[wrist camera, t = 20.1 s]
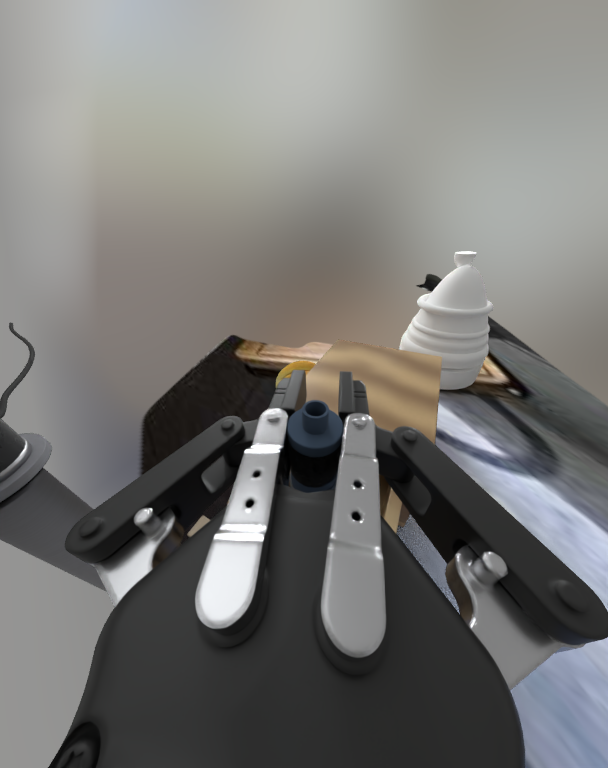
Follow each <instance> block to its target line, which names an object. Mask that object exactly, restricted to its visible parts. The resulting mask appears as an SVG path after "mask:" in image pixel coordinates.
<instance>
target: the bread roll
mask: <svg viewBox="0 0 608 768" xmlns="http://www.w3.org/2000/svg"><path fill="white" fill-rule="evenodd" d="M315 365H316V364H315V363H312V362H308V361H297V362H293V363H291V364H289V365H288V366H286V367H285V368H284V369H283V370H282V371H281V372H280V373H279V375H278V377H277V380H276V388H277V385H278V383H279V382H280V381H281V380H282V379H283V378H290V376H291V373H292V371H293V370H305V372H306V375H307V374H308V373H309V371H310V370H311V369H312V368H313V367H314V366H315Z"/></svg>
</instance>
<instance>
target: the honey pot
mask: <svg viewBox="0 0 608 768" xmlns="http://www.w3.org/2000/svg"><path fill="white" fill-rule="evenodd" d="M475 256H476V252H456V253H455V257H454V260H455V264H456V266H457V267H459V268H457V269H455V270H453V271H452V272H451V273H449V274H448V275H447V276H446V277H445V278H444V279H443V280H442V281H441V282H440V283H439V284H438V286H437V287H436V288H435V289H434V290H433V292H432V293H429V294H425V295H423V296H421V297H420V298H419V299H418V301H417V303H418V306H419V307H420V308H421V309H420V310H419V312H418V313H417V315H416V316H414V318H413V319H412V323H411V324H410V325H409V327H408V329H407V331H406V332H405V333H404V334H403V336H402V338H401V343H400V347H399V350H405V351H411V352H416V353H422V354H428V355H434V356H440V357H442V367H441V378H440V389H444V390H453V389H461V388H465V387H468V386H470V385H472V384H473V382H474V381H475V380H476V378H477V376H478V374H479V372H480V369H481V367H482V365H483V362H484V360H485V357H486V356H487V355H488V344H487V342H488V332H489V325H488V313H490V312H491V311H492V310H493V303H491V302H490V301H489V300H487V294H486V289H485V285H484V281H483V278H482V276H481V274H480V272H479V271H478V270H477V269H476V268H474V267H473V266H471V265H469V264H470V263H471V262H472V261H473V259H474V258H475Z"/></svg>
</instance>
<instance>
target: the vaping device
mask: <svg viewBox="0 0 608 768" xmlns="http://www.w3.org/2000/svg"><path fill="white" fill-rule="evenodd" d="M343 428H344V427H343V423H342V420H341V419H340V417H339V416H338V415H337V414H336V413H335V412H333V411H331V410H330V409H329V407H328V405H327V404H326V403H325V402H323V401H320V400H311V401H308V402H306V403H305V404H304V405H303V407H302V409H300V410H298V411H296V412H295V413H294V414H293V415H292V416H291V417H290V418H289V420H288V423H287V435H288V447H289V456H290V464H291V468H290V470H291V473H290V478H289V481H290V486H291V488H294V489H296V490H299V491H302V492H305V493H312V492H318V491H325V490H336V483H337V475H338V467H339V459H340V453H341V445H342V438H343ZM289 443H290V444H291V446H290V444H289Z"/></svg>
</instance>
